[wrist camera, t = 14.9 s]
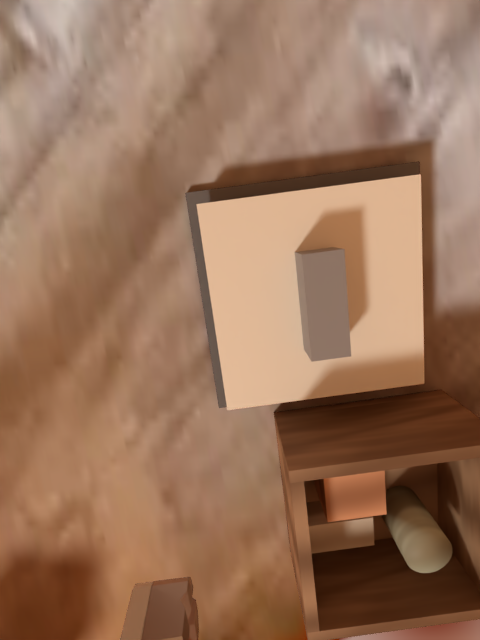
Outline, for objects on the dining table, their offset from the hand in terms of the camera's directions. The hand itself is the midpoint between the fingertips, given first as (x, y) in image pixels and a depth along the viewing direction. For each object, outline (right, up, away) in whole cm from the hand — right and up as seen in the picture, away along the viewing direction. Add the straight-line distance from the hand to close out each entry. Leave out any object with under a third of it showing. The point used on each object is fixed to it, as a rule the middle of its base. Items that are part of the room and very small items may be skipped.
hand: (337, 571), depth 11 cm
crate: (+9, -8, +27) cm, 30 cm away
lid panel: (+3, +9, +22) cm, 24 cm away
